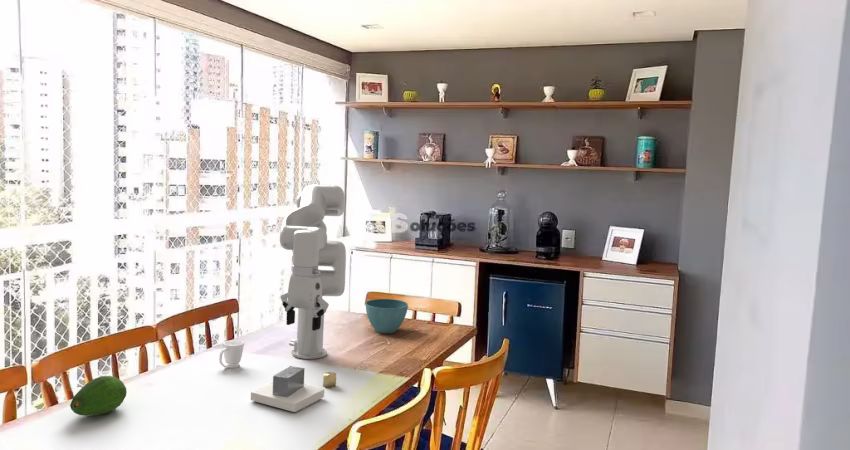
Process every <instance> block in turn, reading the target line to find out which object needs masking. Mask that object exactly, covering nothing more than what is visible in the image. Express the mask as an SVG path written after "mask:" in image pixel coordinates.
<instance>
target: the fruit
mask: <svg viewBox="0 0 850 450" xmlns="http://www.w3.org/2000/svg"><path fill="white" fill-rule="evenodd" d="M126 397H127V387H126V385H125V383H124V382H123V381H122V380H121V379H119V378H118V377H116V376H113V375H101V376H99V377H96V378H93V379H92V380H90V381H88V382H87V383H86V384H85V385H83V386H82V388H80V389H79V390H78V391H77V392H76V394H75V395H73V397H72V400H71V402H70V404H69V407H70V409H71V411H73V413H75V414H76V415H79V416H101V415H106V414H108V413H111V412H113V411H114V410H115V409H117V408H119V407H120V406H121V405H122V404H123V402H124V401H125V398H126Z"/></svg>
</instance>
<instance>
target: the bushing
mask: <svg viewBox="0 0 850 450" xmlns="http://www.w3.org/2000/svg"><path fill="white" fill-rule="evenodd" d="M322 382H323V383H322V388H324V387H325V388H324V389H334V388H336V387H337V372H333V371H326V372H324V373H323V381H322Z"/></svg>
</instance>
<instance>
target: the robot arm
mask: <svg viewBox="0 0 850 450" xmlns="http://www.w3.org/2000/svg"><path fill="white" fill-rule="evenodd" d="M345 197H346V196H345V192H344V190H343V188H342V187H341V186H339V185H335V184H334V185H331V184H316V183H315V184H309V185H307V186H305V187H304V189H303V190H302V192H300V193H299V194H298V195H297V197H296V207H297V208H296V209H294V210H292V211H291V212H289V213H288V214H287V215H286V216H285V217H284V218H283V221H282V224H281V228H280V233H279V243H280V246H281V247H282V248H283V249H284V250H286V251H292V274H290V277H289V278H290V279H289V280H288V281H289V283H288V289H287V290H288V291H287V293H284V294H281V295H280V296H279V298H280V300H281V302H282V303H281V304H282V307H283V308H284V311H285V312H286V325H287V326H289V325H293V324H295V323H296V322H295V321H296V310H295V309H297V325H296V326H297V328H296V329H297V330H296V331H297V332H296V339H293V338H292V339H290V341H289V343H288V345H289V346H290V347H293V350H292V353H291V355H292V356H293V357H295V358H297V359H302V360H305V359H306V360H316V359H322V358H324V357H326V355H327V353H328V351H327V349H325V348H324V347H323V346H324V329H325V328H324V326H325V325H324V323H325V313H326V312H327V309H328V307H329V302H327V301H326V300H324V298H323V297H340V296H342V295H343V294H344V292H345V287H346V264H347V251H346V246H345V244H344V243H343V242H342V241H339V240H328V234H327V226H326V223H325V222H324V221H323V220H324V219H325V216H327V217H341V216H342V215H343V214H344V212H345V209H346V198H345ZM319 267H331V268H332V269H333V270H331V269H329V270H328V269H319Z"/></svg>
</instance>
